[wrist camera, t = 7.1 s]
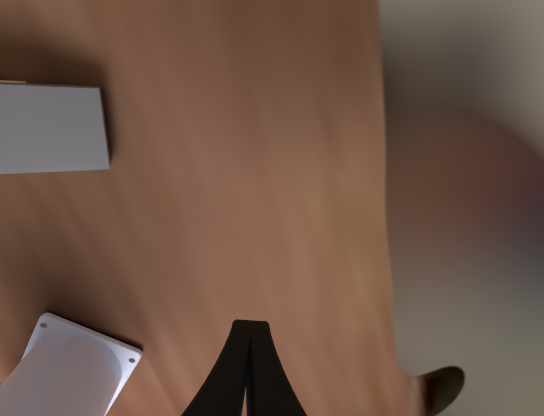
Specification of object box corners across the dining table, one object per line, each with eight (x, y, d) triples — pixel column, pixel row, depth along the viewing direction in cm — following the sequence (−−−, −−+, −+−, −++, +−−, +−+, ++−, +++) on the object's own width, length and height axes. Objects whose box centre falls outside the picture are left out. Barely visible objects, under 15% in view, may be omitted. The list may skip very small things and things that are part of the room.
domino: (98, 88, 17) (-80, 81, 14) (109, 169, 19) (-48, 176, 16) (100, 86, 18) (-62, 79, 16) (110, 162, 20) (-35, 167, 17)
